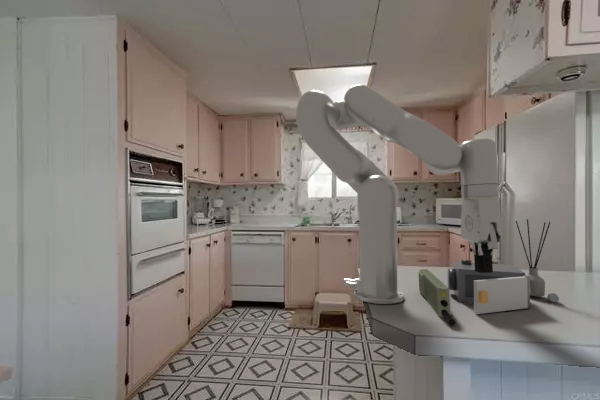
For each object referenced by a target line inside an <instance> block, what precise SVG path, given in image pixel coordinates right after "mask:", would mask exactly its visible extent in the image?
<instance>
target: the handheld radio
mask: <svg viewBox="0 0 600 400" xmlns="http://www.w3.org/2000/svg"><path fill="white" fill-rule="evenodd" d="M417 274H418V289H419V292H420V293H421V295H422V296H423V297H424V299H425V300H426V302H427V304H429V305H430V307H431V308H432V310H433V311H434V312H435V313H436V316H438V317H439V318H444V319H445V320H446V322H447V323H448V324H449V325H450V326H455V325H456V324H457V322H456V320H455V318H454V317H453V316H452V315H451V314H452V313H451V295H450V290H449V288H448V285H445V283H443V282H442V281H441V280H440V279H439V278H438V277H436V275H434V274H433V272H431V271H430V270H429V269H428V268H421V269H419V271H418V273H417Z"/></svg>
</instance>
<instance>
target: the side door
mask: <svg viewBox="0 0 600 400" xmlns="http://www.w3.org/2000/svg"><path fill="white" fill-rule="evenodd" d="M527 275H528V274H525V275H523V276H521V277H509V278H497V279H485V280H474V303H473V313H475V314H476V315H479V314H489V313H497V312H506V311H514V310H523V309H530V308H531V295H530V276H527Z"/></svg>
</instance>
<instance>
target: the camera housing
mask: <svg viewBox="0 0 600 400" xmlns="http://www.w3.org/2000/svg"><path fill="white" fill-rule="evenodd" d="M452 264H453V265H452V268H447V279H446V280H447V287H448V288H449V291H453V293H454V295H455V297H456V299H457V301H458V302H461V303H462V302H463V303H473V304H474V280H485V279H497V278H509V277H521V276H523V275H526V272H524V271H523V270H521V269H519V268H517V267H516V266H514V265H513V264H503V263H501V264H500V263H498V264H497V263H492V266H493V272H492V273H479V272H477V271H475V262H472V260H471V259H465V258H464V259H461V261H453V262H452Z"/></svg>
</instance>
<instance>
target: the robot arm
mask: <svg viewBox="0 0 600 400" xmlns="http://www.w3.org/2000/svg"><path fill="white" fill-rule="evenodd" d="M295 121H296V126H297V129H298V132H299V134H300V136H301V137H302V139H303V141H304V142H305V143H306V145H307V146H308V147H309V148H310V149H311V150H312V151H313V153H314V154H316V156H317V157H318V158H319V159H320V160H321V161H322V163H324V164H325V165H326V166H327V167H328V168H329V169H330V171H331V172H332V173H333V174H334V175H335V177H336V178H337V179H339V181H341V182H343V183H346V184H347V185H349V187H351V188H352V190H354V192H355V193H357V210H358V224H359V227H358V228H359V229H358V233H359V234H358V236H359V277H356V278H355V279H352V278H344V279H343V286H345V287H346V288H355V289H354V290H353V297H355V299H356V300H359V301H361V302H365V303H370V304H377V305H391V304H393V305H394V304H397V303H401V302H403V301H404V299H405V294H404V293H403V292H402V291H401V290H398V289H399V287H398V285H399V284H398V282H399V280H398V218H397V217H398V216H397V203H398V200H399V197H400V196H399V195H400V194H399V188H398V186H397V185H396V183H395V182H394V181H393V180H391V179H390V178H389V176H387V175H386V174H385V172H383V171H382V170H381V169H380V168H379V167H378V166H377V165H376V164H375V163H373V161H371V159H370V158H369V157H367V156H366V155H365V153H363V152H362V151H360V150H359V149H357V148H355V146H353V145H352V144H351V143H349V141H348V140H347V139H345V138H344V137H343V135H341V133H339V132H338V130H340V129H341V130H342V129H349V128H354V127H360V126H365V127H366V128H367V129H368V130H370V131H372V132H374V133H375V134H376V135H378V136H379V137H380V138H382V139H383V140H385V141H386V142H388V143H394V144H396V145H399V146H401V147H402V148H404V149H406V150H407V151H408V152H410V153H411V154H413V155H414V156H416V157H417V158H419V159H420V160H422V161H423V162H424V163H425V166H426V168H427V170H428V171H429V172H430V173H432V174H434V175H438V176H439V175H440V176H443V175H444V176H445V175H449V174H454V173H459V174H460V188H461V189H460V190H461V191H460V192H461V200H462V203H461V213H460V214H461V215H460V222H461V223H460V236H461V239H463V240H464V241H468V243H469V245H471V246H472V252H473V259H474V261H473V263H475V271H477V272H479V273H492V272H493V266H492V264H493V255H494V250H497V249H498V248H499V244H498V243H500V242H501V241H502V240H503V224H502V214H501V209H500V204H499V199H500V192H499V191H500V190H499V175H498V156H497V155H498V154H497V145H496V144H497V143H496V142H495V141H494V140H493V139H491V138H476V139H469V140H466V141H463V142H462V143H461V144H459V143H458V141H457V140H455V139H454V138H453V137H451V136H450V135H448V134H447V133H445V132H444V131H442V130H441V129H439V128H438V127H436V126H435V125H433V124H432V123H429V122H428V121H427V120H425V119H423V118H421V117H419V116H416V115H414V114H412V113H410V112H408V111H406V110H404V109H403V108H401V106H399V105H397V104H395V103H394V102H392V101H391V100H390V99H389V98H386V97H385V96H383V95H381V94H380V93H379V92H377V91H376V90H374V89H373V88H371V87H369V86H368V85H366V84H362V83H361V84H360V83H359V84H355V85H352V86H350V88H348V90H347V91H346V93H345V94H344V97H343V100H338V101H334V100H332V98H331V97H330V96H329V95H328V94H326V93H325V92H323V91H322V90H321V91H320V90H318V89H317V90H315V89H312V90H307V91H306V92H304V93H303V94H302V95H301V97H300V98H299V100H298V102H297V106H296V110H295Z"/></svg>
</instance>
